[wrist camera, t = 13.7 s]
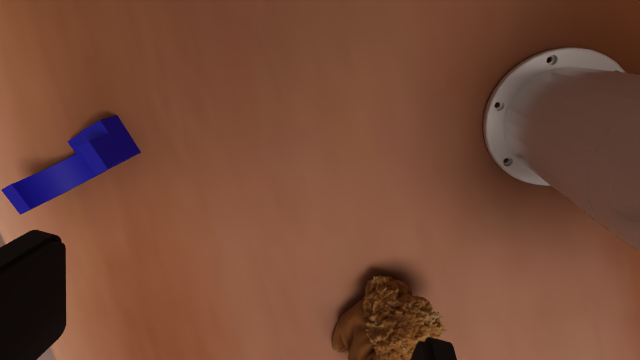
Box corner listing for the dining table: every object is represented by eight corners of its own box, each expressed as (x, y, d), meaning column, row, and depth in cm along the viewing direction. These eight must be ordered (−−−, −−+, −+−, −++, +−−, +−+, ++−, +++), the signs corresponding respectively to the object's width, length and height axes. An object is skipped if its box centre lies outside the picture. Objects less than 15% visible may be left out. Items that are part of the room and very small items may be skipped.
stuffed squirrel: (329, 346, 48) (316, 450, 36) (354, 249, 43) (349, 332, 31) (408, 365, 48) (422, 477, 35) (442, 270, 43) (473, 362, 30)
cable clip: (118, 115, 41) (78, 126, 35) (141, 151, 42) (107, 168, 37) (39, 159, 44) (-9, 177, 38) (63, 193, 45) (20, 214, 40)
